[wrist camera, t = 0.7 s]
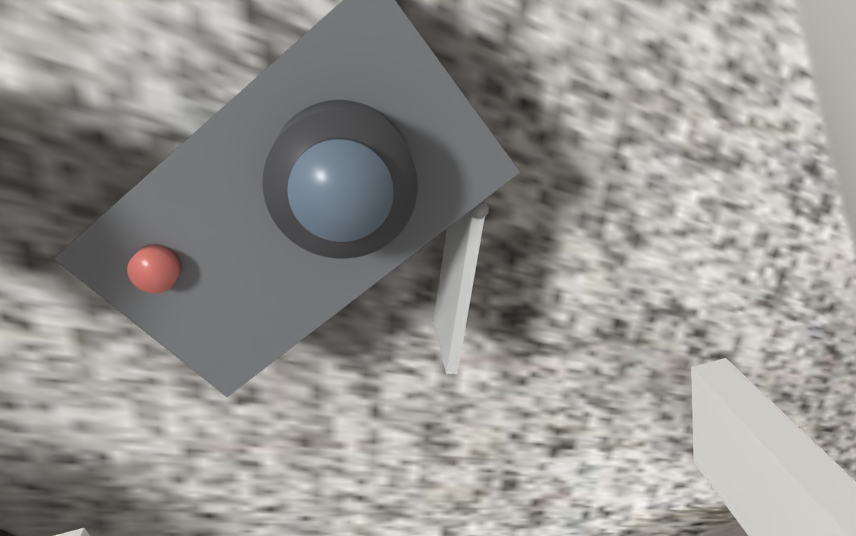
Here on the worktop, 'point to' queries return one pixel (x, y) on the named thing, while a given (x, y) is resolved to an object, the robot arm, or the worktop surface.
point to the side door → (457, 283)
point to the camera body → (294, 196)
